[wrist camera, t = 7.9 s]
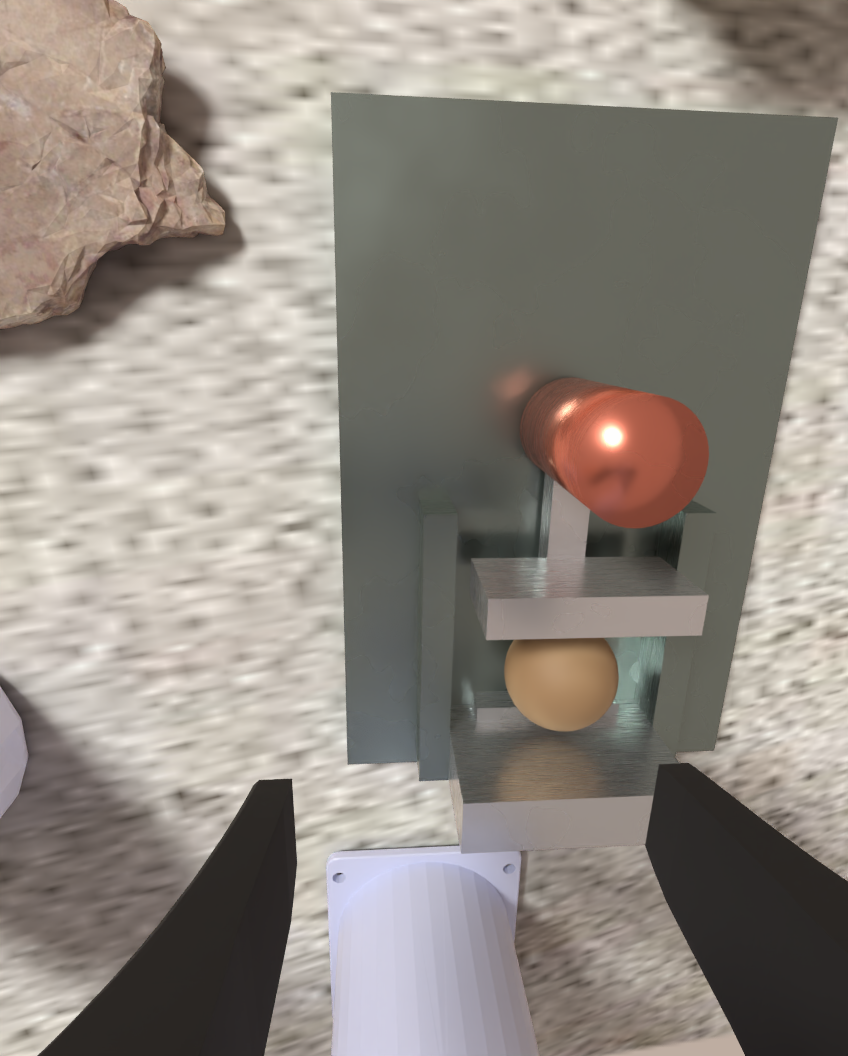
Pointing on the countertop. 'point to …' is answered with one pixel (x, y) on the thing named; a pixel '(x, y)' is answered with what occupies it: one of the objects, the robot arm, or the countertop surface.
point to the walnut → (561, 680)
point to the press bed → (507, 386)
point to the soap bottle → (10, 753)
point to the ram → (615, 496)
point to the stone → (84, 152)
